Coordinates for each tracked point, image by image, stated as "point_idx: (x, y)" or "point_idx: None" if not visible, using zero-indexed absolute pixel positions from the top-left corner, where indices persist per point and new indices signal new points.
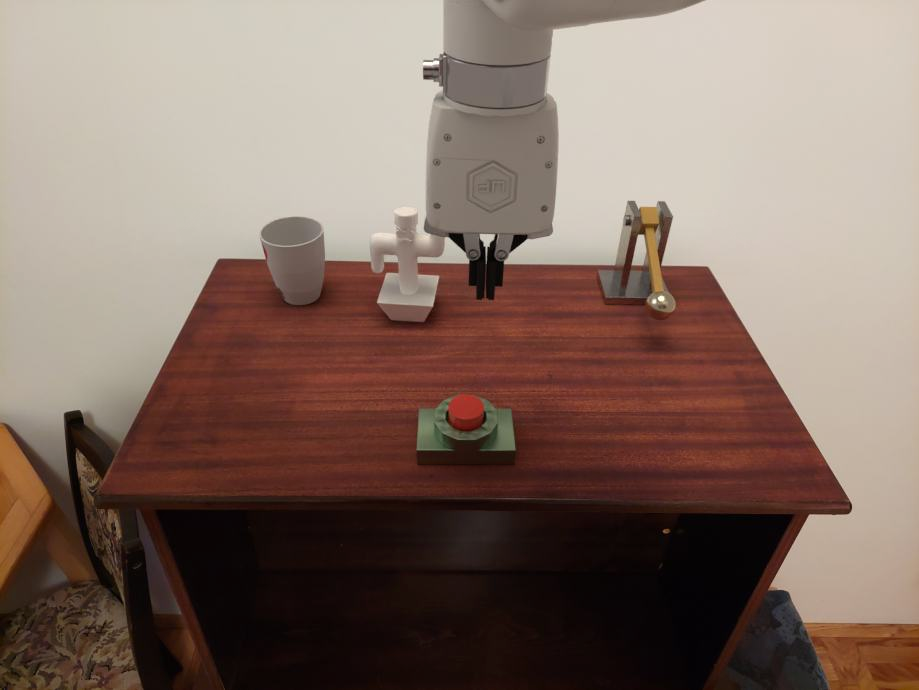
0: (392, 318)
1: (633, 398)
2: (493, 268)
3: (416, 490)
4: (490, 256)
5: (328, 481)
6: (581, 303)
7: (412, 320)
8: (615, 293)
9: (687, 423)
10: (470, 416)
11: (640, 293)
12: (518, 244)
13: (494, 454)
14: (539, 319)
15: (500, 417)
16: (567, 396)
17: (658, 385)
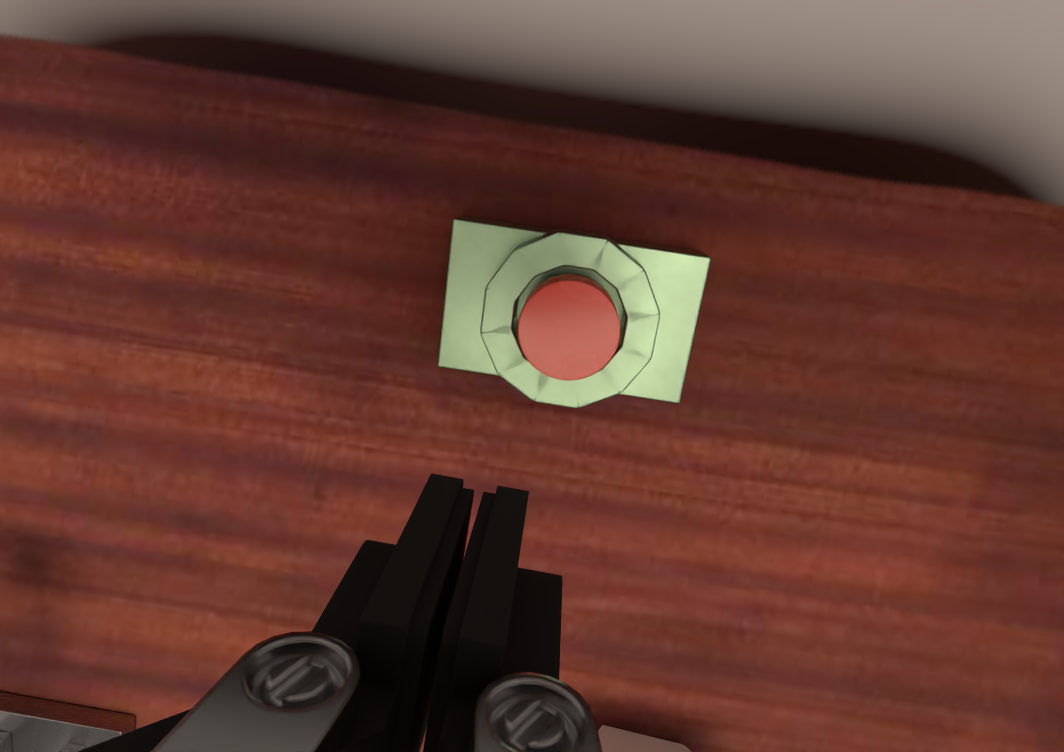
0: (681, 747)
1: (127, 388)
2: (394, 592)
3: (716, 168)
4: (394, 698)
5: (928, 229)
6: None
7: (631, 733)
8: (94, 741)
9: (12, 286)
10: (564, 289)
11: (30, 731)
12: (111, 750)
13: (509, 225)
14: None
15: (471, 338)
16: (289, 419)
17: (57, 421)
